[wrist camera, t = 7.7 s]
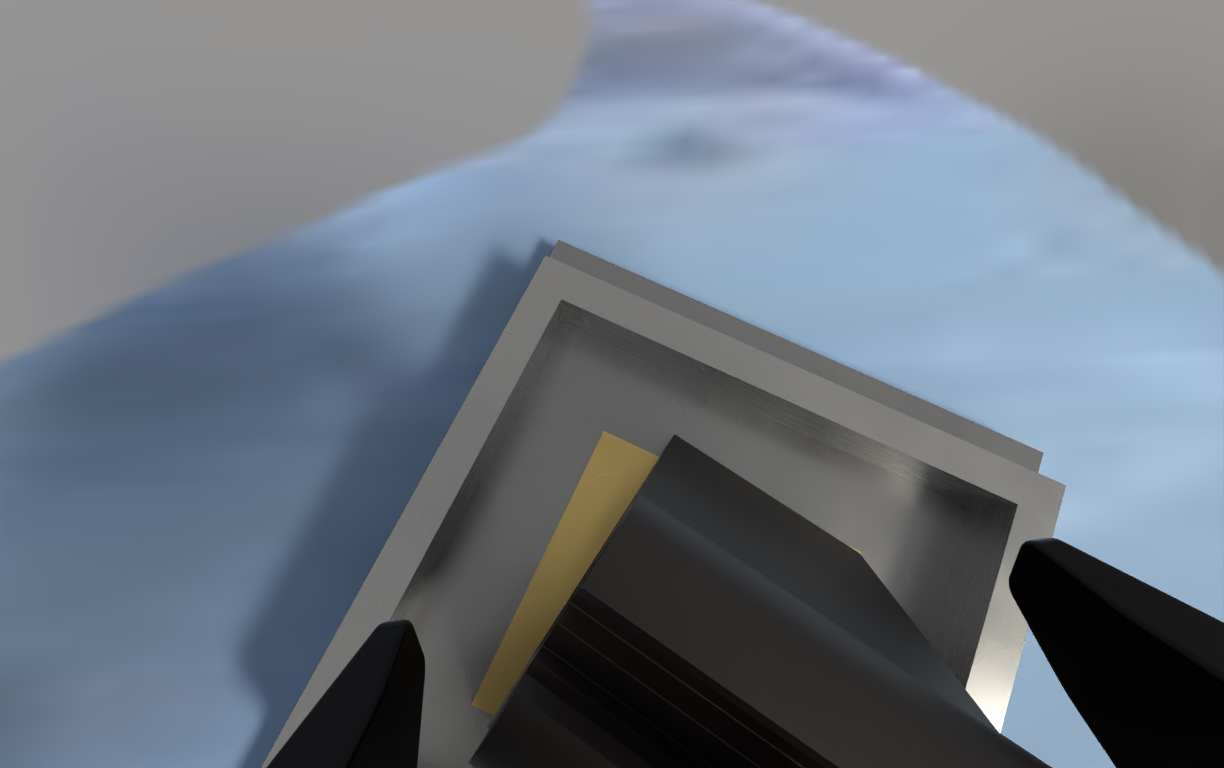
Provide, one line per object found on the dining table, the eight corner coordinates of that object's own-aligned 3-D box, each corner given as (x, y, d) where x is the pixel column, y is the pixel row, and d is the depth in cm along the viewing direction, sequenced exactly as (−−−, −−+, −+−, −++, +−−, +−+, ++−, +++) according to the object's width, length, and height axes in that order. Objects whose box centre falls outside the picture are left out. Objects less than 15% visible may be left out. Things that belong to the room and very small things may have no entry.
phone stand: (673, 435, 17) (817, 217, 6) (854, 553, 17) (1449, 580, 5) (487, 720, 15) (130, 1276, 4) (684, 870, 15) (1008, 2173, 3)
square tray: (823, 1138, 14) (880, 1291, 11) (255, 812, 16) (176, 873, 13) (1020, 457, 18) (1098, 441, 16) (560, 254, 20) (553, 205, 17)
